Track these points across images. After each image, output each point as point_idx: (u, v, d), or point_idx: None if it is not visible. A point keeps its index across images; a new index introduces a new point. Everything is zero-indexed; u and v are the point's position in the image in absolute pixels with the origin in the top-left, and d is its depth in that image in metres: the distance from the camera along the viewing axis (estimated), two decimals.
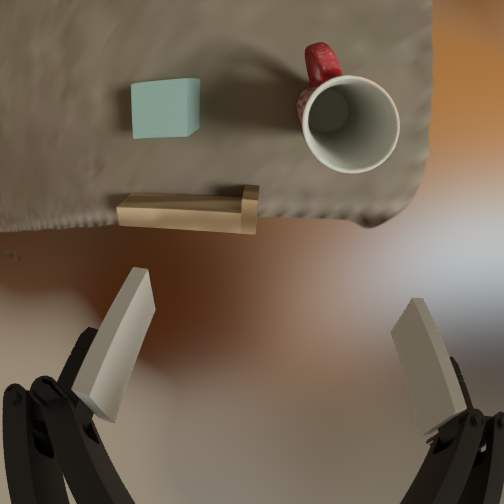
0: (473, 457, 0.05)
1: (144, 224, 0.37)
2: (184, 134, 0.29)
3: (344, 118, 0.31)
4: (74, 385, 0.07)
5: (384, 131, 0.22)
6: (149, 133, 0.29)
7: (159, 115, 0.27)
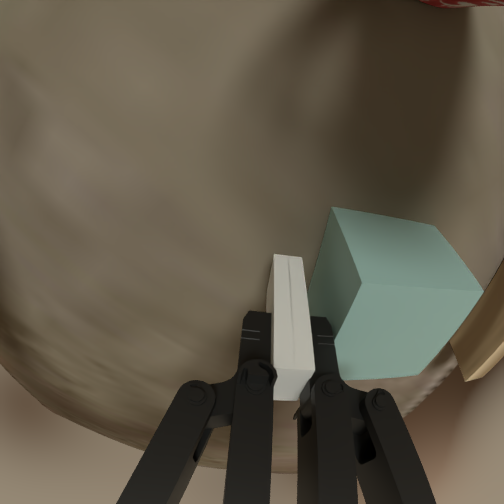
0: (350, 430, 0.07)
1: None
2: (477, 296, 0.09)
3: None
4: (274, 363, 0.09)
5: None
6: (431, 354, 0.12)
7: (413, 340, 0.11)
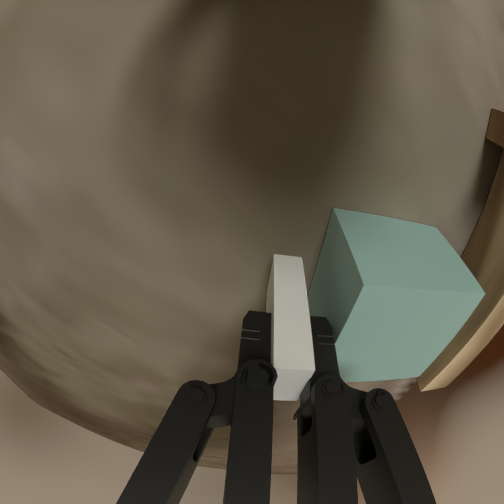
0: (350, 430, 0.07)
1: (472, 358, 0.14)
2: (478, 298, 0.09)
3: None
4: (275, 363, 0.09)
5: None
6: (431, 356, 0.12)
7: (415, 342, 0.11)
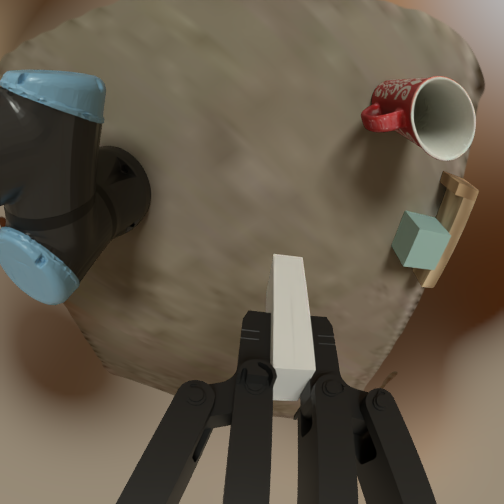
0: (350, 430, 0.07)
1: (442, 269, 0.40)
2: (449, 237, 0.35)
3: None
4: (274, 363, 0.09)
5: (444, 86, 0.19)
6: (437, 259, 0.38)
7: (431, 250, 0.37)
